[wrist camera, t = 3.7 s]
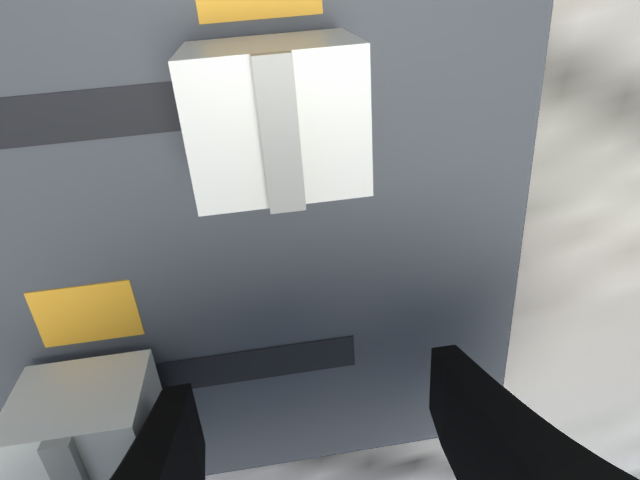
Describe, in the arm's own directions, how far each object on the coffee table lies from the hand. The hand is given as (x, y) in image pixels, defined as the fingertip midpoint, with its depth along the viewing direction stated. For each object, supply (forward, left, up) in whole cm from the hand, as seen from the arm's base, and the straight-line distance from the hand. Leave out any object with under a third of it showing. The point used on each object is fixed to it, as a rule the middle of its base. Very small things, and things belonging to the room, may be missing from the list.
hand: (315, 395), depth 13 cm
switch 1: (0, +5, -1) cm, 6 cm away
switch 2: (+7, 0, -1) cm, 7 cm away
